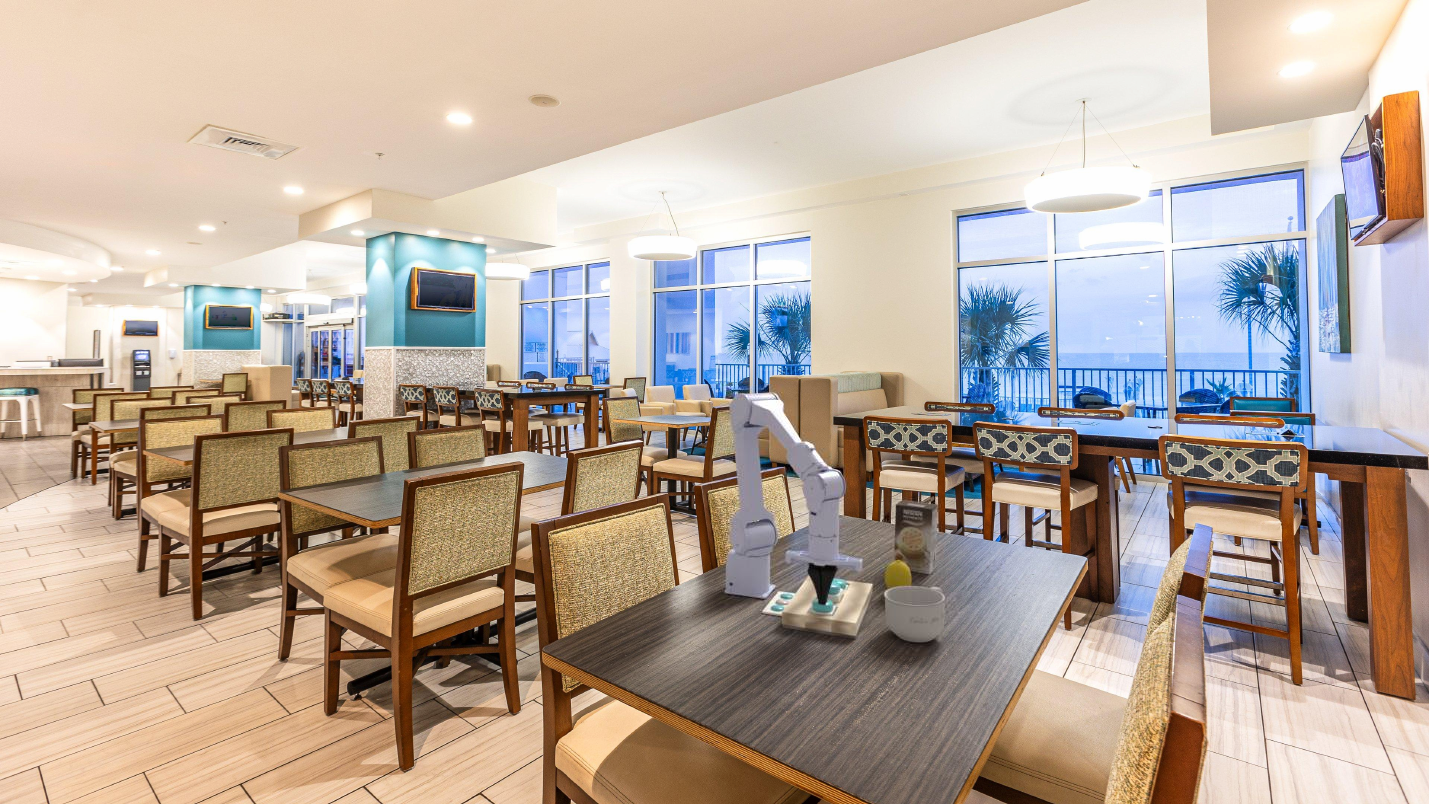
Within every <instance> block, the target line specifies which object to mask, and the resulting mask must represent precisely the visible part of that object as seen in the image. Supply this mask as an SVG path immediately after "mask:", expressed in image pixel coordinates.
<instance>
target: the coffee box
mask: <svg viewBox="0 0 1429 804" xmlns="http://www.w3.org/2000/svg"><path fill="white" fill-rule="evenodd" d="M938 509H939V505H938V504H936V503H935V504H934V503H929V502H923V501H913V500H907V499H901V500H899V501H898V502H897V503H896V504H895V516H894V517H895V519H894V520H895V521H894V550H893V552H894V553H893V562H894V561H897V560H900V561H901V562H903V563H905V564H906V565H907V566H908V567H909V569H910V572H914V573H920V574H925V575H931V573H933V572H934V570H935V569H936V568H937V567H936V566H937V565H936V563H937V542H938V540H937V539H938V538H937V537H938V535H937V533H938V513H939V511H938Z"/></svg>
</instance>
